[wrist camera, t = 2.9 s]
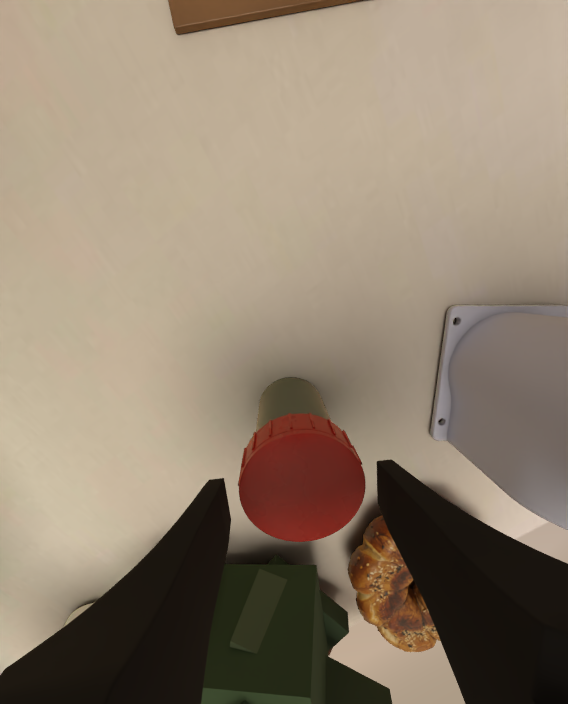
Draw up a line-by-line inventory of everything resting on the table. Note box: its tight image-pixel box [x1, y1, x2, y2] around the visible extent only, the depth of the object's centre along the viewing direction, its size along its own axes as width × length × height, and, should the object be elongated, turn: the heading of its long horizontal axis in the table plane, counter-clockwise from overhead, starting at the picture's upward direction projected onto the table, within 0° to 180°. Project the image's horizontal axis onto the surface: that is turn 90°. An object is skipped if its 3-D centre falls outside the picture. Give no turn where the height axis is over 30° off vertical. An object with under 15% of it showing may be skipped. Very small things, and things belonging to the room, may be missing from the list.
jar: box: [256, 377, 331, 432], centre depth 15 cm, size 4×4×8 cm
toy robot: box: [201, 554, 392, 704], centre depth 18 cm, size 12×18×12 cm
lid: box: [238, 413, 365, 542], centre depth 12 cm, size 5×5×2 cm
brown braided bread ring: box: [348, 515, 441, 652], centre depth 21 cm, size 12×11×4 cm
